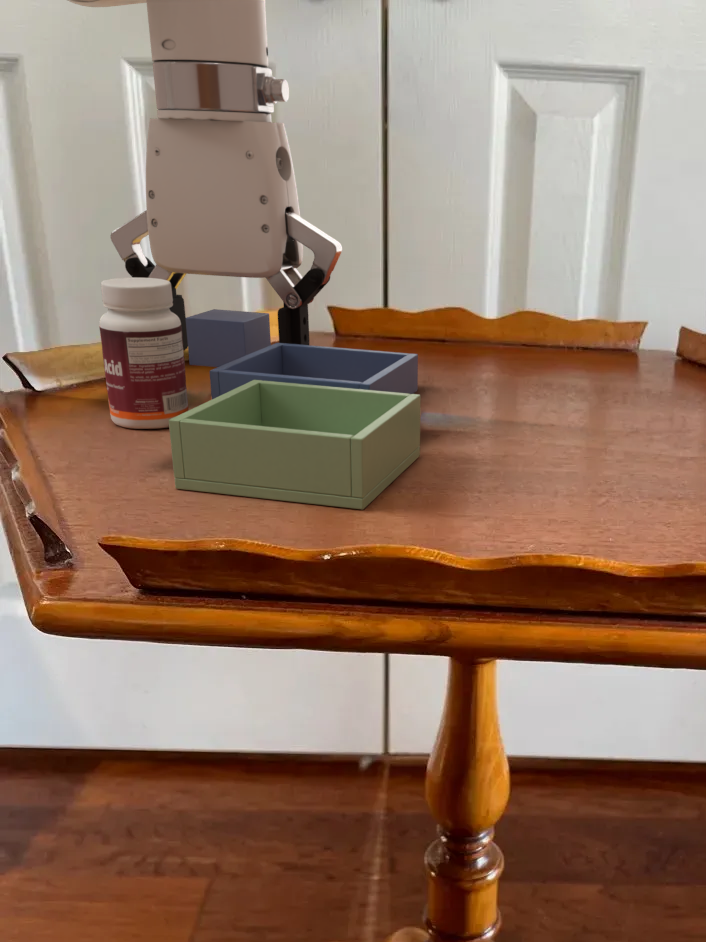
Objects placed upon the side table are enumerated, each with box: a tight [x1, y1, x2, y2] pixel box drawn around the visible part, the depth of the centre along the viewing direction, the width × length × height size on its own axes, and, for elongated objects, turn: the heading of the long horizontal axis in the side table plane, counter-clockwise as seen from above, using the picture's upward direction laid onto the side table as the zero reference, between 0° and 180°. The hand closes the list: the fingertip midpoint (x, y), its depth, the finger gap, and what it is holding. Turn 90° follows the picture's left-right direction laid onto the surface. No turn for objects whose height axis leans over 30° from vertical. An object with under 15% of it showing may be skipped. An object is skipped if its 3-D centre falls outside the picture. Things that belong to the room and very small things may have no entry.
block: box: [186, 308, 272, 368], centre depth 76 cm, size 4×4×4 cm
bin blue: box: [209, 342, 419, 400], centre depth 66 cm, size 10×10×4 cm
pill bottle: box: [98, 276, 190, 430], centre depth 63 cm, size 5×5×8 cm
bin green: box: [168, 380, 422, 510], centre depth 55 cm, size 10×10×4 cm
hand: (233, 357), depth 76 cm, fingers open, 9 cm apart
